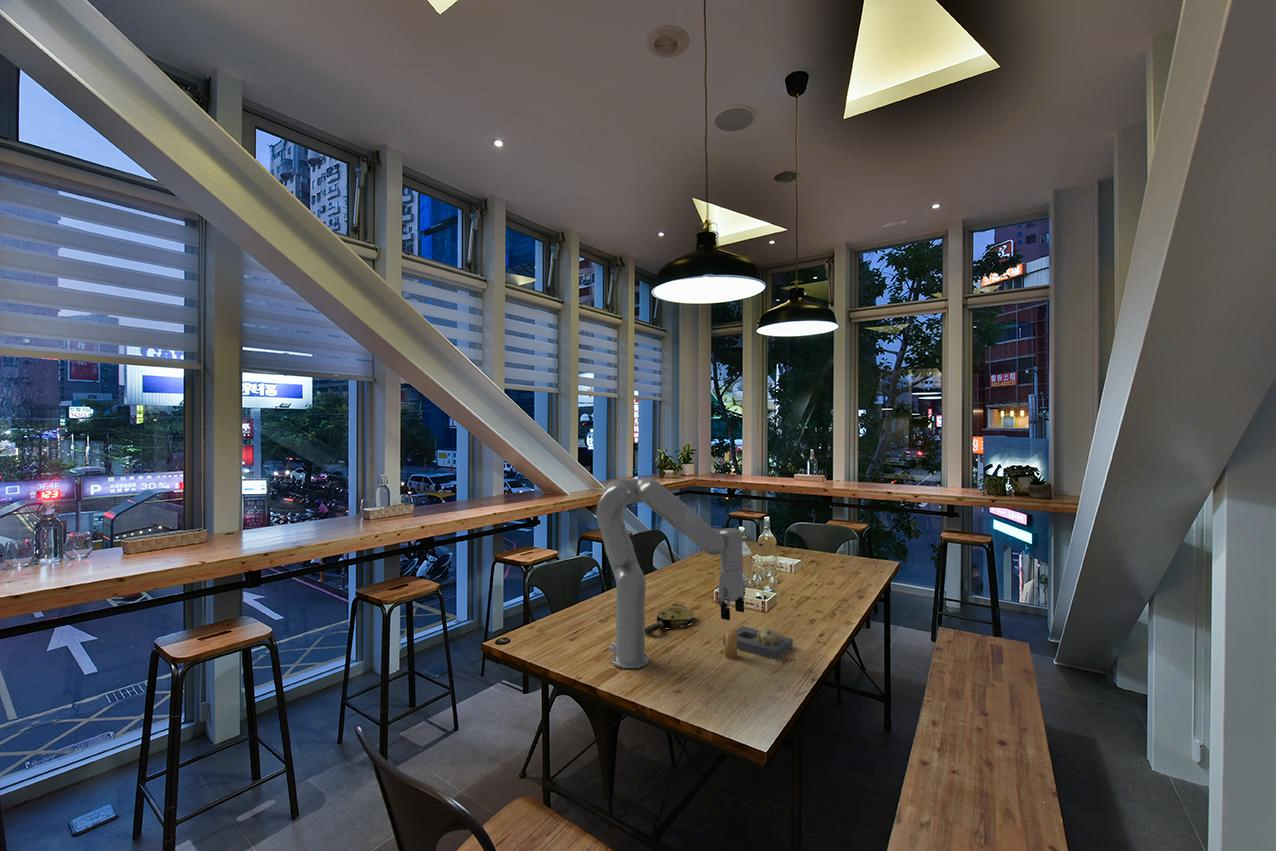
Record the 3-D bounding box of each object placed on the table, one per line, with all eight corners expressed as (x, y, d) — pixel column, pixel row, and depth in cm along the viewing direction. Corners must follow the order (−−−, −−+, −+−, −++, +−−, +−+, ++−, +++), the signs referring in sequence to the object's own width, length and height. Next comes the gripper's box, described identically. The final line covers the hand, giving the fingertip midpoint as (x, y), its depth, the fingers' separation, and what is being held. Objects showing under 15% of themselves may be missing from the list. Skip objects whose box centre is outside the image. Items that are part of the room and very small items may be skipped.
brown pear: (723, 657, 183) (723, 633, 183) (728, 653, 186) (729, 630, 186) (733, 660, 180) (733, 636, 180) (739, 656, 183) (739, 632, 184)
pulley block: (632, 615, 205) (676, 597, 229) (630, 630, 206) (674, 610, 229) (662, 629, 197) (704, 609, 220) (660, 644, 197) (702, 622, 221)
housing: (723, 645, 193) (723, 627, 193) (742, 634, 204) (742, 616, 204) (775, 660, 180) (775, 640, 180) (792, 647, 191) (792, 629, 191)
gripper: (734, 558, 193) (735, 606, 192) (708, 568, 179) (710, 620, 179) (753, 561, 188) (754, 610, 188) (728, 572, 175) (729, 625, 174)
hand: (732, 615), depth 183 cm, fingers open, 9 cm apart
